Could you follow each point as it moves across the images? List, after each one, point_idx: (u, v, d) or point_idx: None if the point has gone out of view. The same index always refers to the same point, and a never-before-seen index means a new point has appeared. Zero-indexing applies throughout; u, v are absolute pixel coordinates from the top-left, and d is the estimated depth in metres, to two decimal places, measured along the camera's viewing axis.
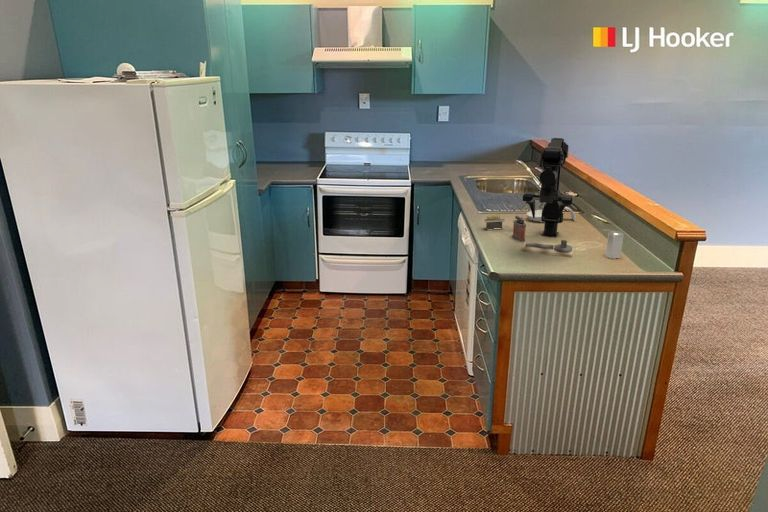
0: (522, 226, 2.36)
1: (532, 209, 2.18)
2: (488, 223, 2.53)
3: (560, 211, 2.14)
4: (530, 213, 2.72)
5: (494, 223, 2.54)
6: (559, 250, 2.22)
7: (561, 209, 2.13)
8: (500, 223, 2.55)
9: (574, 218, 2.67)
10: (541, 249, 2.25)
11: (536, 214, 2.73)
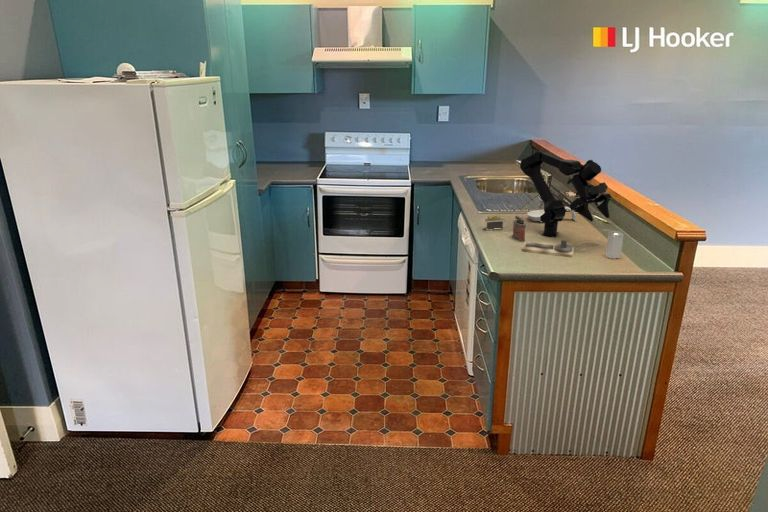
0: (522, 226, 2.36)
1: (588, 211, 2.19)
2: (489, 223, 2.54)
3: (607, 207, 2.24)
4: (531, 213, 2.72)
5: (495, 223, 2.54)
6: (559, 250, 2.22)
7: (606, 205, 2.24)
8: (501, 223, 2.55)
9: (575, 218, 2.67)
10: (541, 249, 2.25)
11: (537, 214, 2.73)
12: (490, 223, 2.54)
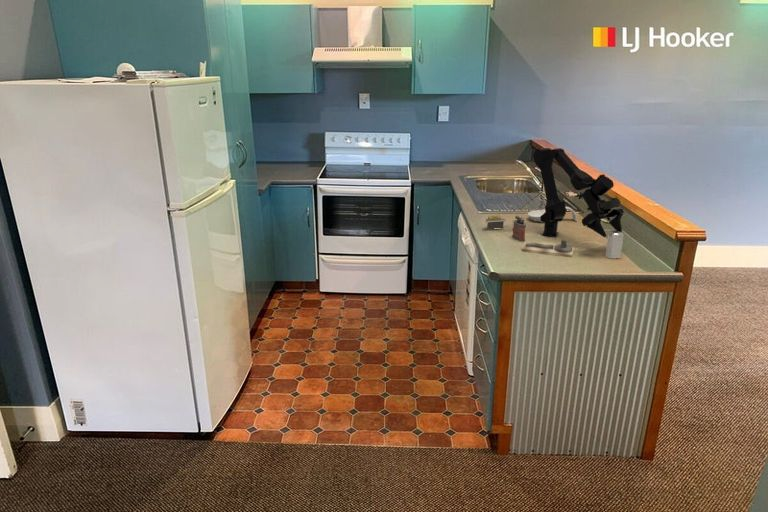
0: (522, 226, 2.36)
1: (601, 227, 2.15)
2: (489, 223, 2.54)
3: (619, 222, 2.20)
4: (532, 213, 2.72)
5: (495, 223, 2.54)
6: (559, 250, 2.22)
7: (619, 220, 2.21)
8: (501, 223, 2.55)
9: (575, 218, 2.66)
10: (541, 249, 2.25)
11: (537, 214, 2.73)
12: (491, 223, 2.54)
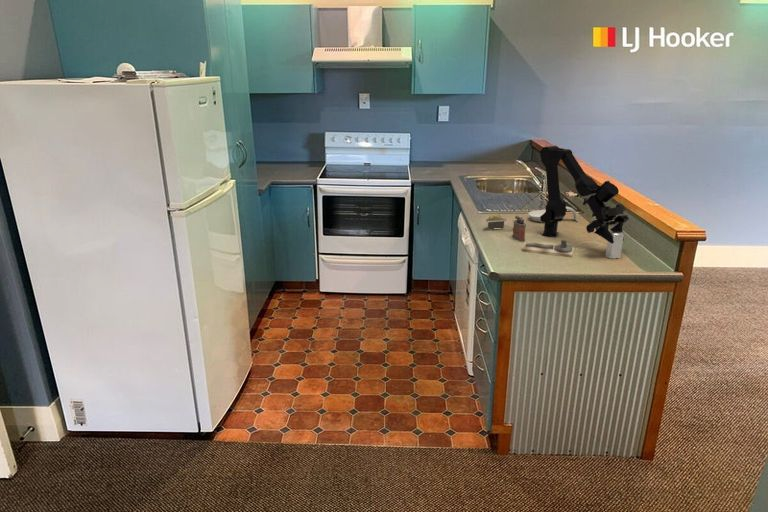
0: (522, 226, 2.36)
1: (609, 233, 2.15)
2: (490, 223, 2.54)
3: (621, 230, 2.18)
4: (533, 213, 2.72)
5: (496, 223, 2.54)
6: (559, 250, 2.22)
7: (621, 228, 2.18)
8: (502, 223, 2.55)
9: (576, 218, 2.66)
10: (541, 249, 2.25)
11: (538, 214, 2.73)
12: (491, 223, 2.54)
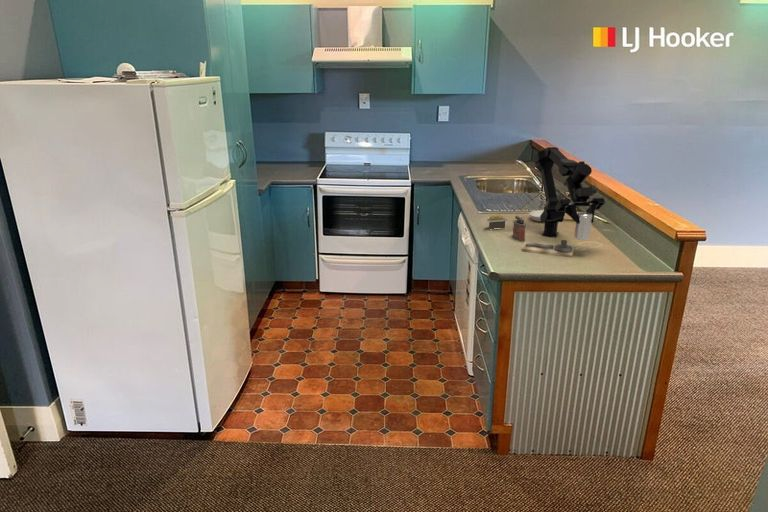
0: (522, 226, 2.36)
1: (575, 213, 2.16)
2: (491, 223, 2.54)
3: (592, 212, 2.17)
4: (534, 213, 2.73)
5: (497, 223, 2.54)
6: (559, 250, 2.22)
7: (593, 210, 2.17)
8: (503, 223, 2.55)
9: None
10: (541, 249, 2.25)
11: (540, 214, 2.73)
12: (492, 223, 2.54)
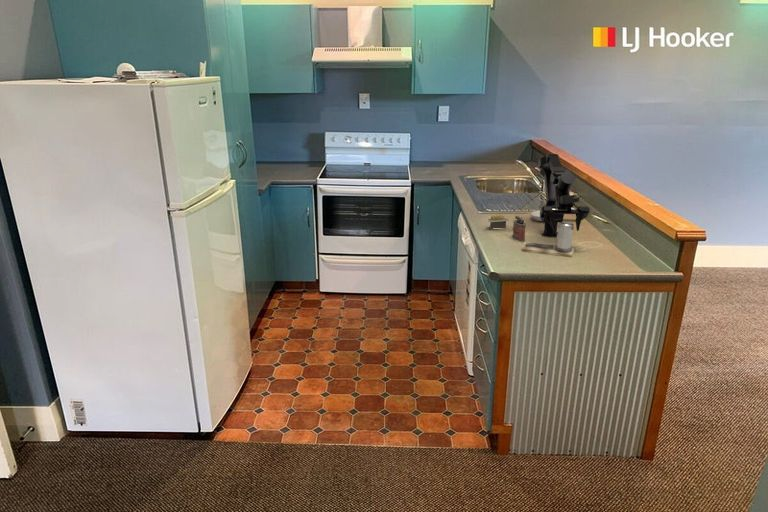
0: (522, 226, 2.36)
1: (552, 220, 2.21)
2: (492, 223, 2.54)
3: (579, 220, 2.20)
4: (535, 212, 2.73)
5: (498, 223, 2.55)
6: (559, 250, 2.22)
7: (580, 218, 2.21)
8: (504, 223, 2.55)
9: None
10: (541, 249, 2.25)
11: None
12: (493, 223, 2.54)
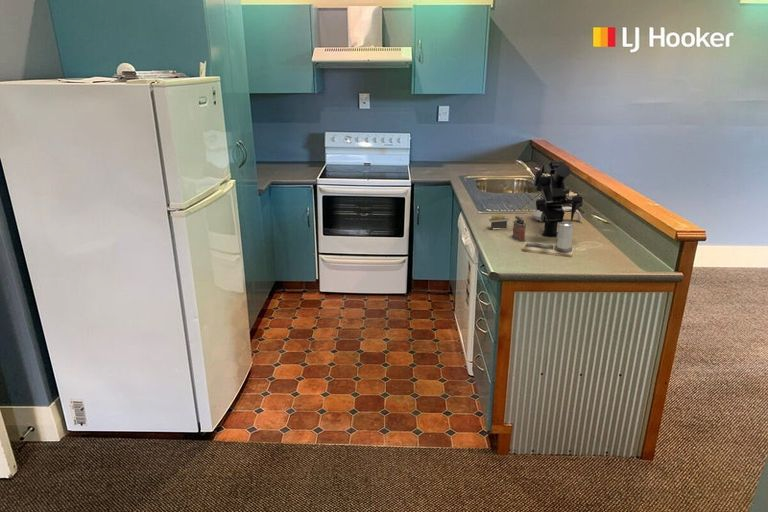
0: (522, 226, 2.36)
1: (546, 213, 2.31)
2: (493, 223, 2.54)
3: (573, 210, 2.28)
4: (537, 212, 2.73)
5: (499, 223, 2.55)
6: (559, 250, 2.22)
7: (573, 208, 2.28)
8: (505, 223, 2.56)
9: (580, 219, 2.65)
10: (541, 249, 2.25)
11: None
12: (494, 223, 2.54)
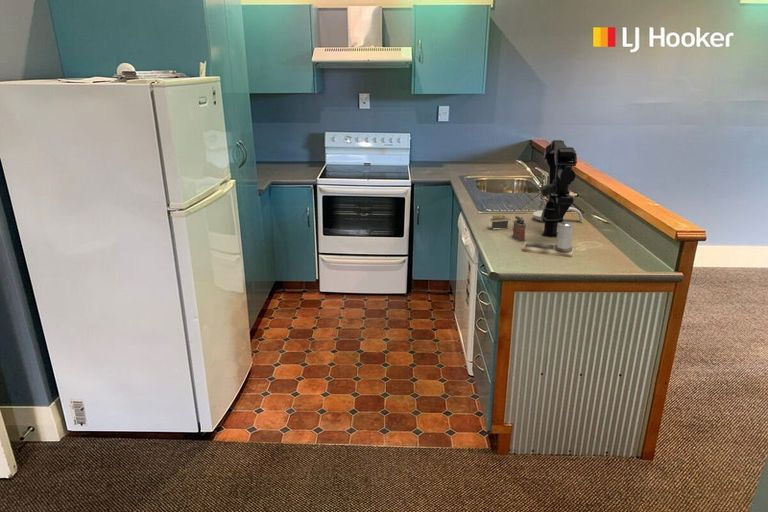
0: (522, 226, 2.36)
1: (553, 203, 2.33)
2: (494, 223, 2.54)
3: (559, 209, 2.23)
4: (538, 212, 2.73)
5: (500, 223, 2.55)
6: (559, 250, 2.22)
7: (559, 207, 2.23)
8: (505, 222, 2.56)
9: (581, 220, 2.64)
10: (541, 249, 2.25)
11: None
12: (495, 223, 2.54)
